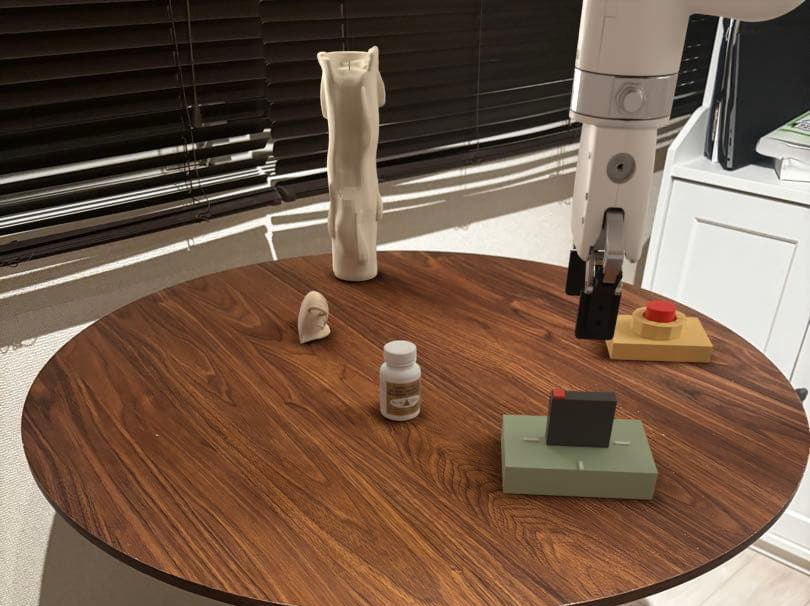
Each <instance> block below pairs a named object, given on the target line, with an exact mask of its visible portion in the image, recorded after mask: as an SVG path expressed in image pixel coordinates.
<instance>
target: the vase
mask: <svg viewBox="0 0 810 606" xmlns="http://www.w3.org/2000/svg"><path fill="white" fill-rule="evenodd" d="M316 58H317V61H318V63H319V65H320V67H321V71H322V76H321V82H320V106H321V112H322V116H323V118H324V119H326V120H327V124H328V150H327V157H326V159H327V160H326V172H327V182H328V191H329V208H328V214H327V231H328V235H329V236H330V238H331V250H332V252H331V254H332V271H333V273H334V276H335V277H336V278H338V279H340V280H344V281H350V282H360V281H361V282H362V281H368V280H371V279H373V278H375V277H376V276H377V275H378V259H377V257H378V256H377V255H378V254H377V236H378V235H377V234H378V222H379V221H381V220H382V219H383V214H384V203H383V202H384V201H383V198H382V196H381V193H380V190H379V189H380V188H379V179H378V173H377V150H378V143H379V134H380V112H379V110H380V109H379V108H382V107H383V106H384V105H385V104H386V90H385V89H386V88H385V83H384V80H383V78H382V76H381V72H380V71H379V65H380V64H379V63H380V61H379V48H378V46H376V45H374V46H372V47H371V48H369V49H368V51H357V50H356V51H355V50H354V51H353V50H352V51H350V50H349V51H346V50H345V51H344V50H343V51H342V50H341V51H331V52H330V51H329V52H326V51H319V52H318V53H317V55H316Z"/></svg>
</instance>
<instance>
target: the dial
mask: <svg viewBox="0 0 810 606" xmlns="http://www.w3.org/2000/svg"><path fill="white" fill-rule="evenodd" d="M548 401H549V402H548V408H547V410H548V411H547V415H546V416H547V424H546V432H545V439H546V445H559V446H584V447H609V443H610V438H611V432H612V427H613V422H614V419H615V416H616V410H617V405H618V399H617V396H616V393H615V392H613V391H612V392H609V391H588V390H587V391H585V390H583V391H582V390H565V388H552V389H551V390H550V394H549V400H548Z"/></svg>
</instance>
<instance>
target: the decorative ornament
mask: <svg viewBox="0 0 810 606" xmlns="http://www.w3.org/2000/svg"><path fill="white" fill-rule="evenodd" d="M329 313H330V312H329V305H328V302H327V299H326V297H325V296H324V295H323V294H322V293H320V292H318V291H315V290H312V291H309V292H308V293H307V294H306V295H305V296H304V298H303V300H302V302H301V305H300V309H299V313H298V318H297V329H298V338H299V342H300V344H304V343H307V342H311V341H314V340H319V339H323V338H326V337H328V336H329V334H330V333H331V330H330V326H329V325H328V324H327V323H328V319H329V315H330V314H329Z"/></svg>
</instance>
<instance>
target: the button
mask: <svg viewBox="0 0 810 606" xmlns="http://www.w3.org/2000/svg"><path fill="white" fill-rule="evenodd" d="M646 306H647V307H646ZM646 306H645V307H646V312H645V318H646V319H647V320H649V321H654V322H658V323H669V322H673V321H674V318H675V314H676V310H678V309H677V305H676V304H675V303H672V302H670V301H667V300H651V301H649V302H647V303H646Z"/></svg>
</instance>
